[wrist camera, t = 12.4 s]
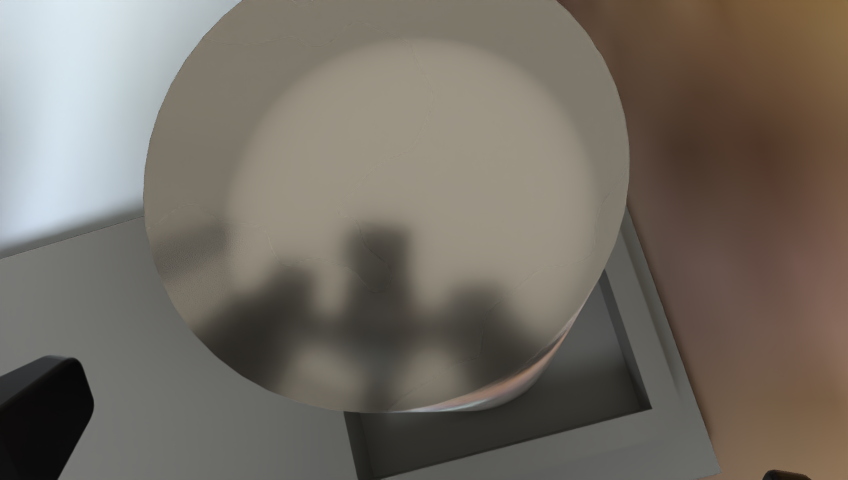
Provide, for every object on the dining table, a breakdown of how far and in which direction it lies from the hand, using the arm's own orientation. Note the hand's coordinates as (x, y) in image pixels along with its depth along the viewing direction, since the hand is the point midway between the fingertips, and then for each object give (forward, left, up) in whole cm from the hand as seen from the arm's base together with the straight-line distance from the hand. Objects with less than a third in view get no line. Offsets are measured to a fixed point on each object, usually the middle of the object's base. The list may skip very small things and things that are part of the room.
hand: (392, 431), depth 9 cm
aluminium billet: (+1, +2, -8) cm, 8 cm away
